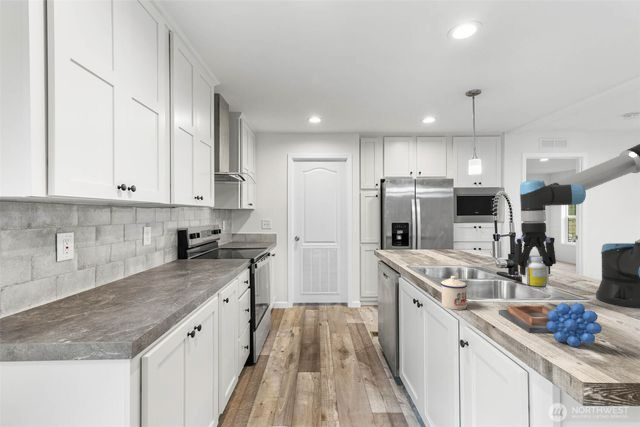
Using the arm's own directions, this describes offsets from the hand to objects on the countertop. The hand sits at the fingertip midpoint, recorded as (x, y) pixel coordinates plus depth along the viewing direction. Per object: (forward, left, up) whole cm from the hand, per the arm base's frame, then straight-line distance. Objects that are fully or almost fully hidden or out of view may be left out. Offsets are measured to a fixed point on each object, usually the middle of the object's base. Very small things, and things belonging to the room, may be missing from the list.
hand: (535, 283), depth 109 cm
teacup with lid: (+29, -2, -9) cm, 30 cm away
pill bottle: (0, 0, -2) cm, 2 cm away
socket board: (+10, +15, -9) cm, 20 cm away
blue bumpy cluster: (+11, +31, -9) cm, 34 cm away
